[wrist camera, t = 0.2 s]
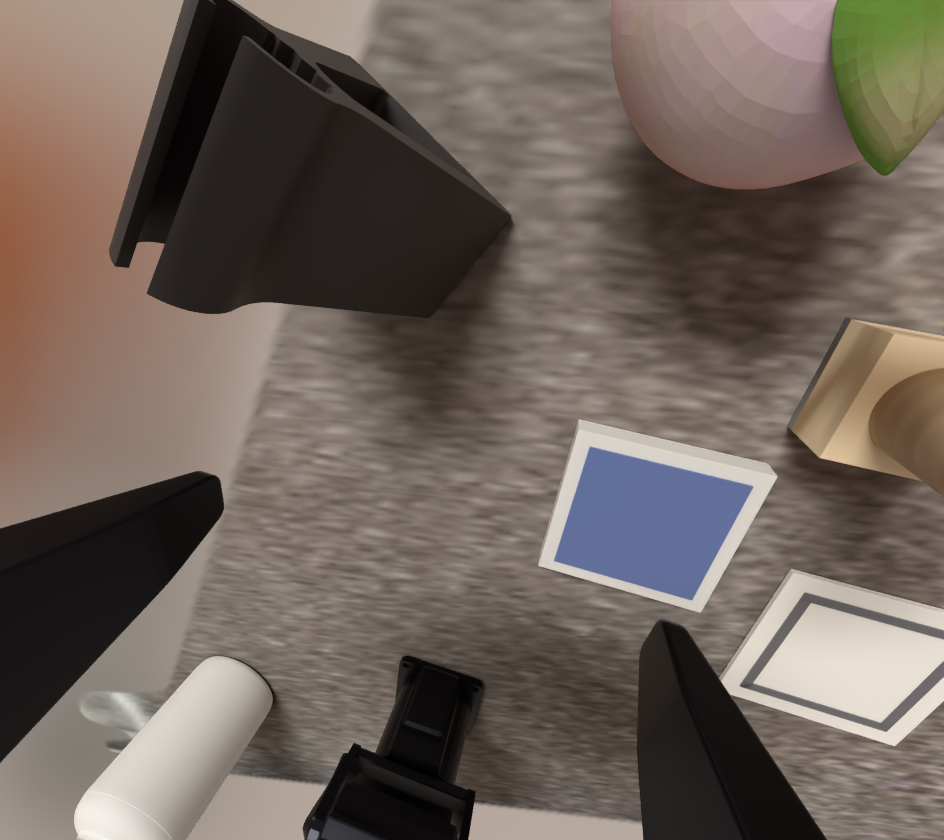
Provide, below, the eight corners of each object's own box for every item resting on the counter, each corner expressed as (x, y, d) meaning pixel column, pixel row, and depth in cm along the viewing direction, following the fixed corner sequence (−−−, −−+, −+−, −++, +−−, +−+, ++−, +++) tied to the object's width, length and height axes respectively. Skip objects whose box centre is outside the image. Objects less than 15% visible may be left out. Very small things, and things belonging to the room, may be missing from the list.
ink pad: (695, 595, 24) (701, 614, 23) (540, 551, 25) (537, 566, 24) (767, 463, 20) (778, 477, 19) (578, 419, 21) (578, 430, 20)
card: (891, 740, 25) (895, 747, 25) (714, 685, 26) (715, 691, 26) (1011, 627, 21) (1018, 634, 20) (791, 568, 22) (794, 574, 22)
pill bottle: (285, 685, 38) (128, 925, 25) (264, 721, 42) (117, 947, 29) (211, 639, 38) (13, 857, 25) (195, 680, 42) (16, 888, 29)
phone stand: (513, 216, 18) (416, 202, 8) (431, 317, 21) (277, 407, 11) (356, 58, 17) (2, -203, 7) (291, 185, 20) (-34, 139, 10)
